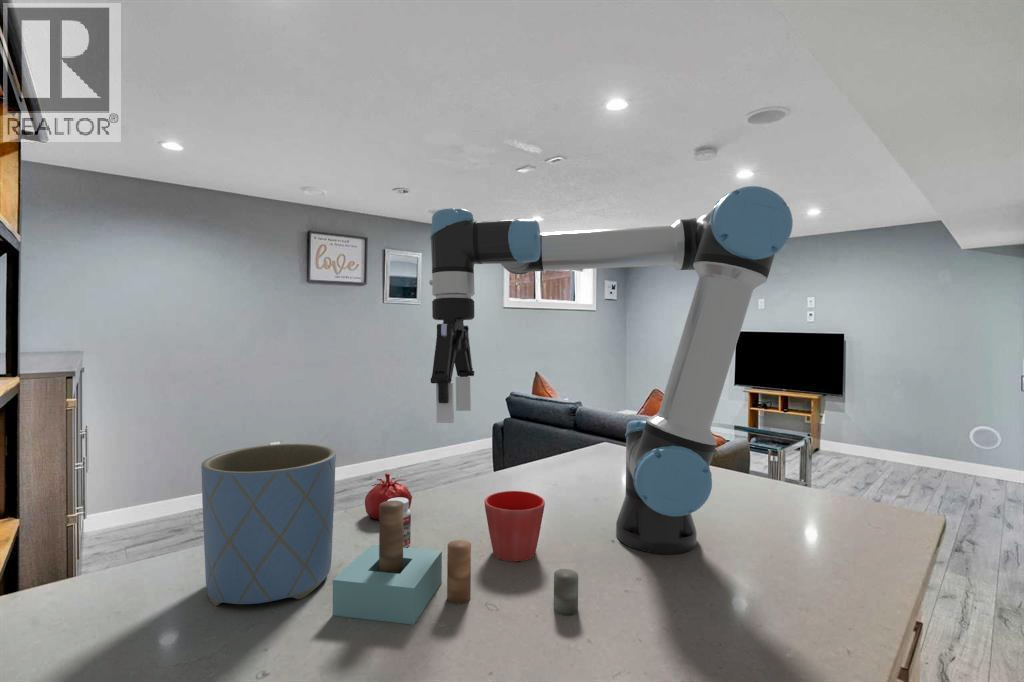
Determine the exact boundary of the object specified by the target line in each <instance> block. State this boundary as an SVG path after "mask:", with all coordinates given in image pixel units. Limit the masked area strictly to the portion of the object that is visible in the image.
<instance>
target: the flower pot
mask: <svg viewBox="0 0 1024 682" xmlns="http://www.w3.org/2000/svg"><path fill="white" fill-rule="evenodd" d="M483 502H484V510H485V514H486V522H487V528H488V532H489V533H488V534H489V539H490V543H491V548H492V553H493V555H494V557H496V558H498V559H499V560H502V561H505V562H515V563H516V562H518V561H519V562H524V561H525V562H526V561H527V560H530V559H532V558H533V557H535V555H536V552H537V547H538V542H539V539H540V534H541V533H540V532H541V528H542V522H543V517H544V511H545V505H546V502H545V499H544V498H543V497H542V496H540V495H538V494H537V493H532V492H529V491H522V490H507V491H506V490H505V491H500V492H499V491H498V492H494V493H492V494H490V495H488V496H486V497H485V498H484V501H483Z"/></svg>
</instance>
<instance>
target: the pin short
mask: <svg viewBox="0 0 1024 682" xmlns="http://www.w3.org/2000/svg"><path fill="white" fill-rule="evenodd" d="M553 610H554V612H555V613H556V614H558V615H561V616H564V617H565V616H566V617H569V616H573V615H575V614H577V613H578V610H579V573H578V572H577V571H576V570H573V569H570V568H561V569H557V570H555V571H554V573H553Z"/></svg>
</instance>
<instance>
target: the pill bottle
mask: <svg viewBox="0 0 1024 682" xmlns="http://www.w3.org/2000/svg"><path fill="white" fill-rule="evenodd" d="M388 501H401V502H403V503H404V511H403V548H409V546H410V545H411V541H412V540H411V534H412V533H411V531H412V530H411V525H412V523H411V519H412V518H411V515H412V514H411V509H410V508H409V500H408V499H407V498H402V497H397V498H392V499H389V500H388ZM408 508H409V509H408Z"/></svg>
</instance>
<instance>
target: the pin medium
mask: <svg viewBox="0 0 1024 682" xmlns="http://www.w3.org/2000/svg"><path fill="white" fill-rule="evenodd" d="M446 551H447V553H446V554H447V561H446V562H447V565H446V566H447V567H446V568H447V571H446V572H447V573H446V574H447V575H446V577H447V578H446V580H447V581H446V585H447V586H446V588H447V589H446V600H447V602H449V603H450V604H454V605H461V604H466V603H467V602H469V601H470V600H471V591H472V590H471V588H472V587H471V586H472V585H471V584H472V583H471V582H472V578H471V577H472V572H471V571H472V563H471V562H472V543H471V542H470V541H468V540H465V539H455V540H452V541H449V542H448V543H447V550H446Z"/></svg>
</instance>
